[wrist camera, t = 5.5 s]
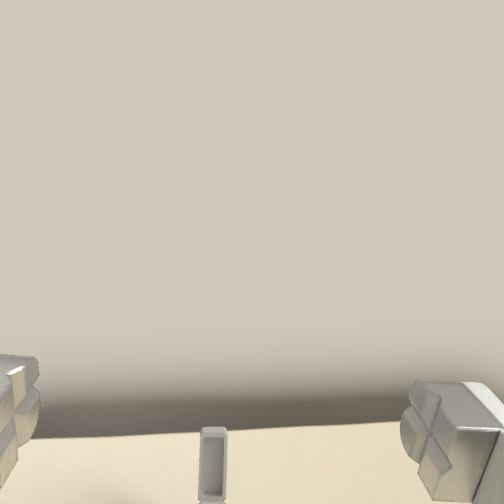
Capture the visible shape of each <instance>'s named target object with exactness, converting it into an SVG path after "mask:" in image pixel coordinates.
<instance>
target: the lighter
mask: <svg viewBox="0 0 504 504" xmlns="http://www.w3.org/2000/svg"><path fill="white" fill-rule="evenodd" d="M227 436H228V435H227V429H226V428H225V427H203V428H202V429H201V432H200V458H199V486H198V500H199V501H200V503H199V504H225V503H224V502H223V501H224V500H225V499H226V473H227Z"/></svg>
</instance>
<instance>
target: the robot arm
mask: <svg viewBox="0 0 504 504" xmlns="http://www.w3.org/2000/svg"><path fill="white" fill-rule="evenodd" d="M38 376H39V367H38V361H37V359H36V358H35V357H30V356H17V355H5V354H0V489H2V487H3V485H4V483H5V482H6V480H7V478H8V476H9V475H10V473H11V471H12V469H13V468H14V466H15V464H16V462H17V461H18V450H17V448H19V447H20V446H22V445H24V444H25V443H27V442H28V441H29V439H30V437H31V435H32V434H33V432H34V430H35V427H36V423H37V420H38V417H39V411H40V393H39V391H38V390H37V389H36V388H35V387H34V386H33V384H34V382H35V381H36V379H37V377H38ZM408 397H409V399H410V401H411V402H412V405H410V406H409V407H408V408H407V409H406V410H405V411H404V412H403V415H402V419H401V423H400V433H401V440H402V443H403V447H404V449H405V451H406V453H407V455H408V456H409V457H410V458H411V459H413V460H414V461H415V462H417V463H418V464H419V465H420V466H419V470H418V475H419V477H420V479H421V480H422V482H423V484H424V486H425V488H426V490H427V491H428V493H429V495H430V497H431V499H432V501H448V502H465V503H472V504H504V404H503V403H501V401H499V399H498V398H497V397H496V396H495V395H494V394H493V393H492V392H491V391H490V390H489V389H488V388H487V387H486V386H485V385H483V384H481V383H479V382H438V381H416V380H415V381H414V383H413V384H412V385H411V387H410V391H409V394H408Z"/></svg>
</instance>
